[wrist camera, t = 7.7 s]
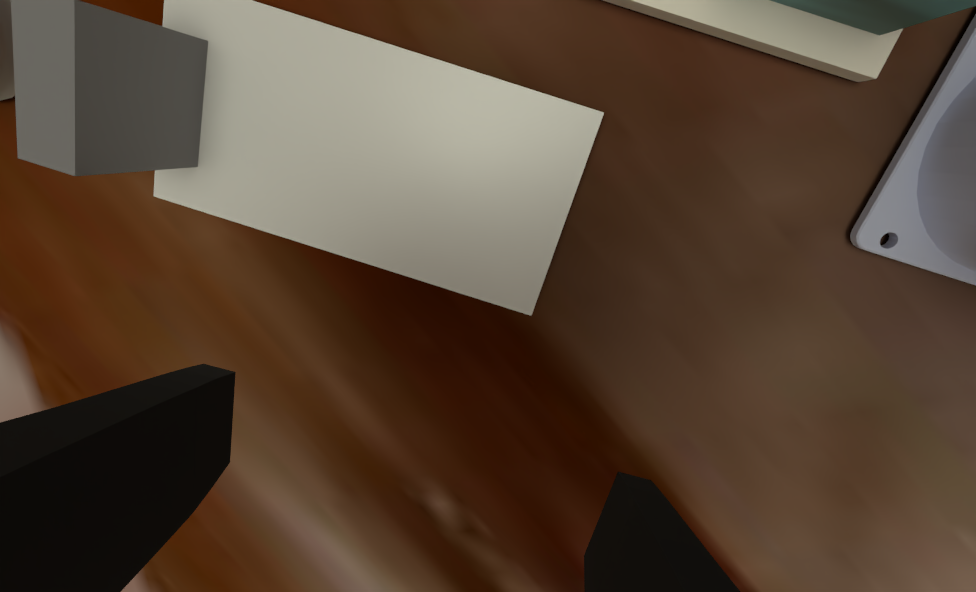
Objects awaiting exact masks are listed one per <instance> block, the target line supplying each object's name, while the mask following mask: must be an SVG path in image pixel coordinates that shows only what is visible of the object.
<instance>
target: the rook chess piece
mask: <svg viewBox="0 0 976 592" xmlns="http://www.w3.org/2000/svg"><path fill="white" fill-rule="evenodd" d="M14 96H15V82H14V60H13V37H12V14H11V0H0V100H4V99H8V98H12V97H14Z"/></svg>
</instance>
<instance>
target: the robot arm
mask: <svg viewBox="0 0 976 592" xmlns="http://www.w3.org/2000/svg"><path fill="white" fill-rule="evenodd" d="M887 233H888V234H889V239H888V241H887V242H886V243H885V244H884V245H880V240H881V238H882V236H883V235H884V234H887ZM850 239H851V242H852V244H853V245H854V246H856V247H857V248H860V249H863V250H866V251H869V252H872V253H875V254H878V255H882V256H885V257H888V258H891V259H894V260H897V261H900V262H904V263H907V264H910V265H913V266H916V267H919V268H922V269H926V270H929V271H932V272H935V273H938V274H941V275H944V276H947V277H951V278H954V279H957V280H960V281H963V282H966V283H969V284H973V285H976V14H975V16H974V18H973V20H972V21H971V23H970V25H969V27H968V28H967V30H966V32H965V33H964V35H963V37H962V39H961V40H960V42H959V44H958V46H957V47H956V49H955V51H954V53H953V54H952V56H951V58H950V60H949V61H948V63H947V65H946V67H945V68H944V70H943V72H942V74H941V75H940V77H939V79H938V81H937V82H936V84H935V86H934V88H933V89H932V91H931V93H930V95H929V96H928V98H927V100H926V101H925V103H924V105H923V107H922V108H921V110H920V112H919V114H918V115H917V117H916V119H915V121H914V122H913V124H912V126H911V128H910V129H909V131H908V133H907V135H906V136H905V138H904V140H903V142H902V143H901V145H900V147H899V149H898V150H897V152H896V154H895V156H894V157H893V159H892V161H891V162H890V164H889V166H888V168H887V169H886V171H885V173H884V175H883V176H882V178H881V180H880V182H879V183H878V185H877V187H876V189H875V190H874V192H873V194H872V196H871V197H870V199H869V201H868V203H867V204H866V206H865V208H864V210H863V211H862V213H861V215H860V217H859V218H858V220H857V222H856V224H855V225H854V227H853V229H852V231H851V234H850ZM234 386H235V372H233V371H229V370H225V369H221V368H217V367H213V366H210V365H206V364H201V365H197V366H192V367H188V368H184V369H181V370H177V371H174V372H170V373H167V374H163V375H160V376H156V377H153V378H150V379H147V380H143V381H140V382H137V383H134V384H130V385H127V386H124V387H121V388H117V389H114V390H111V391H107V392H104V393H101V394H98V395H94V396H91V397H88V398H84V399H81V400H78V401H75V402H71V403H68V404H65V405H62V406H58V407H55V408H51V409H48V410H44V411H41V412H37V413H33V414H30V415H26V416H23V417H19V418H15V419H12V420H8V421H5V422H1V423H0V592H121V591H122V589H123V588H124V587H125V586H126V585H127V584H128V583H129V582H130V581H131V580H132V579H133V578H134V577H135V576H136V574H137V573H138V572H139V571H140V570H141V569H142V568H143V567H144V566H145V565H146V564H147V563H148V562H149V560H150V559H151V558H152V557H153V556H154V555H155V554H156V553H157V552H158V551H159V550H160V549H161V547H162V546H163V545H164V544H165V543H166V542H167V541H168V540H169V539H170V538H171V536H172V535H173V534H174V533H175V532H176V531H177V530H178V529H179V528H180V527H181V526H182V524H183V523H184V522H185V521H186V520H187V519H188V518H189V517H190V515H191V514H192V513H193V512H194V511H195V509H196V508H197V507H198V505H199V504H200V503H201V501H202V500H203V499H204V498H205V496H206V495H207V494H208V492H209V491H210V490H211V488H212V487H213V485H214V484H215V482H216V481H217V480H218V478H219V477H220V475H221V474H222V473H223V471H224V470H225V468H226V467H227V466H228V464H229V463H230V452H231V435H232V419H233V402H234ZM584 577H585V592H740V591H739V589H738V588H737V587H736V586H735V585H734V583H733V582H732V581H731V580H730V578H729V577H728V576H727V575H726V573H725V572H724V571H723V570H722V568H721V567H720V566H719V565H718V564H717V562H716V561H715V560H714V558H713V557H712V556H711V555H710V553H709V552H708V551H707V550H706V548H705V547H704V546H703V545H702V543H701V542H700V541H699V539H698V538H697V537H696V536H695V534H694V533H693V532H692V530H691V529H690V528H689V527H688V525H687V524H686V523H685V522H684V520H683V519H682V518H681V516H680V515H679V514H678V513H677V511H676V510H675V509H674V508H673V506H672V505H671V504H670V502H669V501H668V500H667V499H666V497H665V496H664V495H663V494H662V493H661V491H660V490H659V489H658V488H657V487H656V485H655V484H654V483H653V482H652V481H651V480H648V479H644V478H640V477H636V476H632V475H629V474H625V473H621V472H618V473H617V476H616V478H615V481H614V483H613V486H612V488H611V491H610V493H609V496H608V498H607V501H606V503H605V505H604V508H603V510H602V513H601V515H600V518H599V520H598V523H597V525H596V528H595V530H594V533H593V535H592V538H591V540H590V542H589V545H588V547H587V550H586V552H585V555H584Z"/></svg>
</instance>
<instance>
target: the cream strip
mask: <svg viewBox="0 0 976 592" xmlns="http://www.w3.org/2000/svg"><path fill="white" fill-rule="evenodd" d="M603 1H606V2H609V3H612V4H615V5H618V6H621V7H625V8H628V9H631V10H634V11H637V12H640V13H643V14H646V15H649V16H653V17H656V18H659V19H662V20H665V21H668V22H671V23H674V24H678V25H681V26H684V27H687V28H690V29H693V30H696V31H699V32H702V33H706V34H709V35H712V36H715V37H718V38H721V39H724V40H727V41H731V42H734V43H737V44H740V45H743V46H746V47H749V48H752V49H756V50H759V51H762V52H765V53H768V54H771V55H774V56H777V57H780V58H784V59H787V60H790V61H793V62H796V63H799V64H802V65H805V66H809V67H812V68H815V69H818V70H821V71H824V72H827V73H830V74H833V75H837V76H840V77H843V78H846V79H849V80H852V81H855V82H862V81H868V80H873V79H877V77H878V75H879V73H880V71H881V69H882V67H883V66H884V64H885V62H886V60H887V58H888V56H889V54H890V52H891V51H892V49H893V47H894V45H895V43H896V41H897V39H898V37H899V36H900V34H901V32H902V30H903V28H902V29H899V30H896V31H893V32H889V33H886V34H883V35H880V36H879V35H876V34H873V33H870V32H867V31H864V30H861V29H858V28H854V27H851V26H848V25H845V24H842V23H839V22H836V21H833V20H830V19H826V18H823V17H820V16H817V15H814V14H811V13H808V12H805V11H802V10H798V9H795V8H792V7H789V6H786V5H783V4H780V3H777V2H773V1H770V0H603Z"/></svg>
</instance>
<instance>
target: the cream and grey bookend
mask: <svg viewBox="0 0 976 592" xmlns="http://www.w3.org/2000/svg"><path fill="white" fill-rule="evenodd" d="M11 14H12V37H13V60H14V82H15V105H16V127H17V150H18V158H19V159H23V160H26V161H29V162H32V163H35V164H38V165H42V166H45V167H48V168H51V169H54V170H57V171H60V172H64V173H67V174H70V175H73V176H84V175H97V174H111V173H124V172H138V171H151V170H155V180H154V197H158V198H161V199H164V200H167V201H170V202H173V203H177V204H180V205H183V206H186V207H189V208H192V209H195V210H199V211H202V212H205V213H208V214H211V215H214V216H218V217H221V218H224V219H227V220H230V221H233V222H237V223H240V224H243V225H246V226H249V227H252V228H255V229H259V230H262V231H265V232H268V233H271V234H274V235H278V236H281V237H284V238H287V239H290V240H293V241H297V242H300V243H303V244H306V245H309V246H312V247H315V248H319V249H322V250H325V251H328V252H331V253H334V254H338V255H341V256H344V257H347V258H350V259H353V260H357V261H360V262H363V263H366V264H369V265H372V266H375V267H379V268H382V269H385V270H388V271H391V272H394V273H398V274H401V275H404V276H407V277H410V278H413V279H417V280H420V281H423V282H426V283H429V284H432V285H435V286H439V287H442V288H445V289H448V290H451V291H454V292H458V293H461V294H464V295H467V296H470V297H473V298H477V299H480V300H483V301H486V302H489V303H492V304H495V305H499V306H502V307H505V308H508V309H511V310H514V311H518V312H521V313H524V314H527V315H530V316H531V315H532V313H533V310H534V307H535V304H536V302H537V299H538V296H539V293H540V290H541V288H542V285H543V282H544V279H545V276H546V274H547V271H548V268H549V265H550V262H551V260H552V257H553V254H554V251H555V248H556V246H557V243H558V240H559V237H560V235H561V232H562V229H563V226H564V223H565V221H566V218H567V215H568V212H569V209H570V207H571V204H572V201H573V198H574V195H575V193H576V190H577V187H578V184H579V181H580V179H581V176H582V173H583V170H584V168H585V165H586V162H587V159H588V156H589V154H590V151H591V148H592V145H593V142H594V140H595V137H596V134H597V131H598V128H599V126H600V123H601V120H602V117H603V114H604V113H603V112H600V111H597V110H594V109H591V108H588V107H585V106H582V105H578V104H575V103H572V102H569V101H566V100H563V99H560V98H557V97H553V96H550V95H547V94H544V93H541V92H538V91H535V90H531V89H528V88H525V87H522V86H519V85H516V84H513V83H510V82H506V81H503V80H500V79H497V78H494V77H491V76H488V75H484V74H481V73H478V72H475V71H472V70H469V69H466V68H463V67H459V66H456V65H453V64H450V63H447V62H444V61H441V60H438V59H434V58H431V57H428V56H425V55H422V54H419V53H416V52H412V51H409V50H406V49H403V48H400V47H397V46H394V45H391V44H387V43H384V42H381V41H378V40H375V39H372V38H369V37H365V36H362V35H359V34H356V33H353V32H350V31H347V30H344V29H340V28H337V27H334V26H331V25H328V24H325V23H322V22H319V21H315V20H312V19H309V18H306V17H303V16H300V15H297V14H293V13H290V12H287V11H284V10H281V9H278V8H275V7H272V6H268V5H265V4H262V3H259V2H256V1H253V0H164V10H163V26H160V25H156V24H153V23H150V22H147V21H143V20H140V19H137V18H134V17H131V16H127V15H124V14H121V13H118V12H115V11H111V10H108V9H105V8H102V7H99V6H95V5H92V4H89V3H86V2H82V1H79V0H11Z"/></svg>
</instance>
